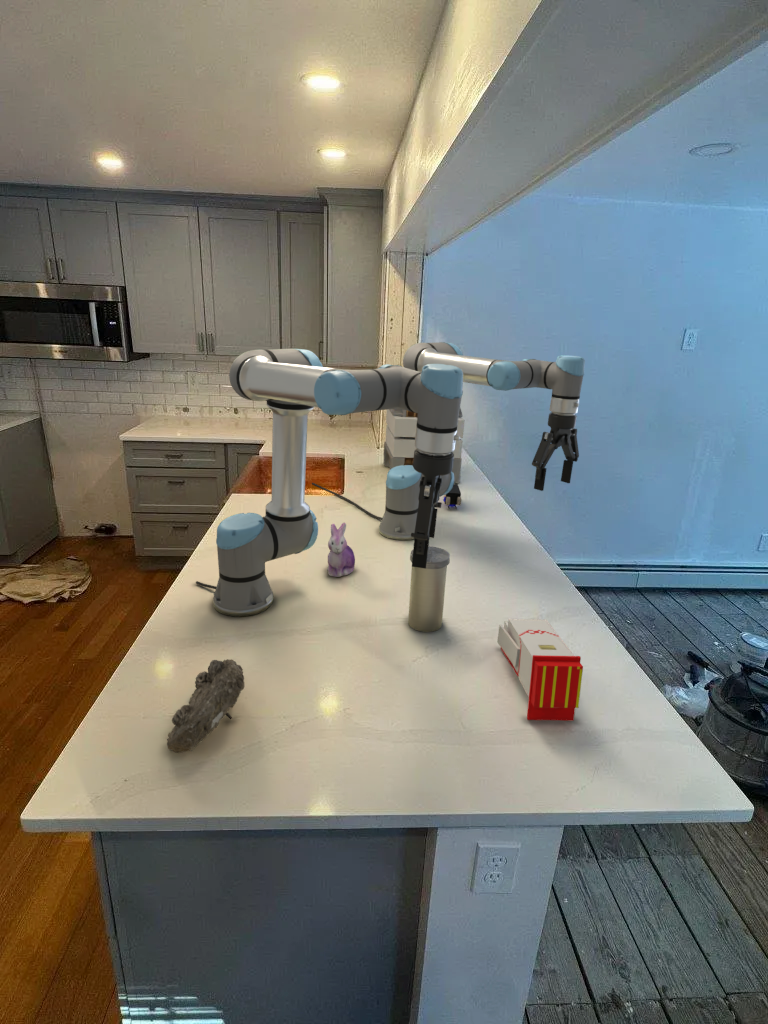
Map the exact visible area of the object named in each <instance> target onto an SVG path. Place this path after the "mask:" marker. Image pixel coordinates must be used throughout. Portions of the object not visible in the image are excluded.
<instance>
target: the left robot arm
mask: <svg viewBox="0 0 768 1024" xmlns="http://www.w3.org/2000/svg"><path fill="white" fill-rule="evenodd" d="M228 377H229V383H230V386H231V388H232V389H233V390H234V392H235V393H236V394H237V395H238V396H239V397H240V398H242V399H245V400H247V401H252V402H264V401H265V402H266V406H267V407H268V408H269V410H271V412H272V435H271V436H272V437H271V438H272V441H271V442H272V444H271V445H272V446H271V500H270V501H268V503H267V504H266V505H265V515H264V516H262V515H261V514H259V513H255V512H246V513H244V512H240V513H236V514H235V513H234V514H233V515H230V516H227V517H225V518H224V519H222V520H221V521H220V523H218V525H217V528H216V538H215V543H216V544H215V545H216V550H217V563H218V579H217V584H216V585H211V584H207V583H203V582H201V581H198V580H196V581H195V584H196V585H199V586H201V587H204V588H209V589H212V590H214V593H213V598H212V599H213V608H214V609H215V611H217V612H219V613H220V614H222V615H226V616H228V617H229V616H230V617H247V616H253V615H257V614H260V613H262V612H264V611H266V610H268V609H269V608H270V607H271V606H272V605H273V602H274V593H273V589H272V587H271V585H270V582H269V580H268V578H267V575H266V563H267V562H270V561H274V560H277V559H281V558H284V557H287V556H291V555H298V554H300V553H302V552H305V551H307V550H309V549H311V548H312V547H313V546H314V545H315V543H316V541H317V539H318V535H319V523H318V521H317V517H316V514H315V513H314V512H313V510H311V506H310V505H309V504H308V503H307V502H306V501H305V498H306V497H305V496H306V495H305V494H306V475H307V474H306V470H307V449H308V447H307V445H308V443H307V442H308V420H309V419H308V418H309V413H310V412H311V411H313V410H314V409H315V408H318V409H320V410H321V411H322V413H324V414H325V415H329V416H347V415H349V414H357V413H367V412H377V411H387V409H396V408H400V409H404V410H407V411H411V412H414V413H418V415H417V426H416V434H415V445H414V446H415V447H416V450H415V451H414V459H413V468H414V469H415V470H416V471H417V472H419V473H422V474H423V475H424V476H422V479H421V480H420V485H419V488H420V492H419V498H418V500H419V505H418V512H417V519H416V525H415V532H414V533H411V537H414V539H413V548H412V550H413V558H412V562H411V568H412V567H418V568H425V569H426V564H427V555H428V546H430V545H429V544H430V539H435V535H436V533H435V532H436V527H437V526H436V525H437V516H438V509H442V502H439V501H440V497H439V493H440V488H441V485H442V478H440V476H441V475H442V476H443V475H447V474H449V473H451V472H452V469H453V461H454V454H453V451H454V450H455V443H456V442H455V440H456V441H458V440H459V439H461V438H460V437H459V436H458V435H456V433H457V426H458V425H457V424H458V417H459V411H460V408H461V403H462V397H463V396H464V395H463V393H464V390H463V387H464V385H463V384H464V382H463V372H462V370H461V369H460V368H458V367H456V366H452V365H445V364H427V365H425V366H424V367H423V368H422V372H419V371H415V370H411V369H408V368H405V367H404V366H403V365H400V364H388V363H386V364H382V365H381V366H379V367H378V368H369V369H345V368H335V367H324V366H323V363H322V362H321V361H320V358H319V357H318V356H317V354H315V353H314V352H313V351H311V350H309V349H303V348H302V349H301V348H273V349H271V348H270V349H268V348H267V349H251V350H248V351H245V352H243V353H240V354H239V356H236V358H235V359H234V360H233V362H232V363H231V365H230V367H229V374H228Z"/></svg>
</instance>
